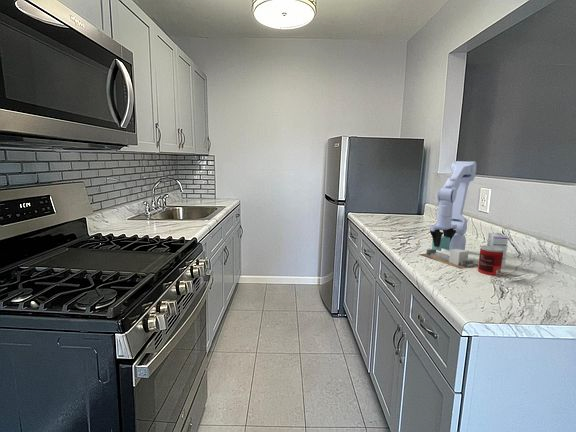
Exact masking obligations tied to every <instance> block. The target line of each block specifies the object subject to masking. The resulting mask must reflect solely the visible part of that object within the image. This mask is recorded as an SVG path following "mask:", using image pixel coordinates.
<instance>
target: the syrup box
mask: <svg viewBox="0 0 576 432" xmlns="http://www.w3.org/2000/svg"><path fill="white" fill-rule="evenodd" d="M508 240H509V236H508V235H506V234H504V233H500V232H489V233H488V237H487V245H488V246H496V247H500V248H502V249H503V258H502V265H501V269H505V268H506V259H507V250H508V249H507V248H508Z"/></svg>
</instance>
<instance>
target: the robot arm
mask: <svg viewBox="0 0 576 432" xmlns="http://www.w3.org/2000/svg"><path fill="white" fill-rule="evenodd" d="M450 170H451V177H449V178H447V180H446V181H445V183H444V185H443V186H442V187H441V188H439V189H438V191H437V205H438V206H437V207H438V208H437V216H436V217H437V218H436V223H435V224H434V225H430V226H429V233H430V234H431V237H432V241H433V242H434V246H435V247H439V245H440V240H441V237H442V236H445V237H449V238H450V247H449V250H446V249H443V250H444V251H445V252H449V253H450V250H451V249H459V248H460V249H463V250H466V245H467V243H466V242H467V240H466V236H465V234H466V232H467V228H468V219H467V218H466V217H465V216H464V215H463V213H464V208H465V203H466V198H467V193H468V187H469V185H470V183H471V182H473V181H475V180H474V179H475V178H476V172H477V162H476V161H474V160H473V161H466V160H465V161H462V160H461V161H459V160H457V161H456V160H454V161H453V162H452V164H451V167H450Z"/></svg>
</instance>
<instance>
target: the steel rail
mask: <svg viewBox="0 0 576 432" xmlns="http://www.w3.org/2000/svg"><path fill="white" fill-rule="evenodd" d="M436 252H437V250H435V249H432V248H431V249H426V251H425V253H426V254H427V255H431V256H434V257H437V258H440V259H443V260H446V261H449V255H448V256H446V255H447V254H445V255H443V254H444V253H442V254H439V253H440V252H439V253H436ZM473 263H474V260H472V259H468V260H466V261H463V262H461V263H459V265H462V266H463V267H469V268H472V267H471V266H473Z"/></svg>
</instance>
